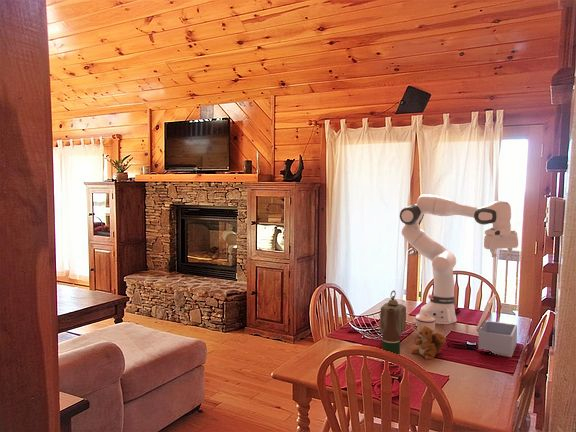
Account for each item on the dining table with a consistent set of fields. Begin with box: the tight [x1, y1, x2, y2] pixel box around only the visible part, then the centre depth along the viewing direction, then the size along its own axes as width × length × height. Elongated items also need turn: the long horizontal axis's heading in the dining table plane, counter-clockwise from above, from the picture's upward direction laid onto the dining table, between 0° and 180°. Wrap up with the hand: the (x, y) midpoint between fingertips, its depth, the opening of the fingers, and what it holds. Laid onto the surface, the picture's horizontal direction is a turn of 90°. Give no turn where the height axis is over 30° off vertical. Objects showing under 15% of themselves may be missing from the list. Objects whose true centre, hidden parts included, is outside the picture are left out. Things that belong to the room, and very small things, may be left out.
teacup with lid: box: [410, 313, 436, 338], centre depth 235 cm, size 12×9×12 cm
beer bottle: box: [381, 309, 401, 365], centre depth 197 cm, size 8×8×24 cm
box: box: [477, 320, 518, 358], centre depth 217 cm, size 20×14×10 cm
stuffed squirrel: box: [411, 326, 447, 360], centre depth 209 cm, size 10×14×13 cm
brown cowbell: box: [379, 289, 407, 336], centre depth 229 cm, size 14×9×25 cm, turn 149°
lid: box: [475, 294, 497, 332], centre depth 219 cm, size 20×15×1 cm
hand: (501, 256), depth 246 cm, fingers open, 8 cm apart
